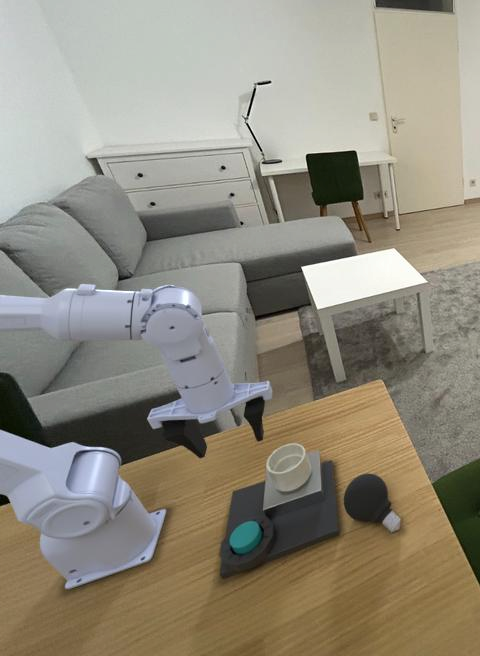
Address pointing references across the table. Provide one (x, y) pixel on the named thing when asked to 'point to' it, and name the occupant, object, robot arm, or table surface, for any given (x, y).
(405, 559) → the table surface
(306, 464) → the bowl
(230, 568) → the scale
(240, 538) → the tare button
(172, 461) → the table surface
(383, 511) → the light bulb
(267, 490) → the plate
